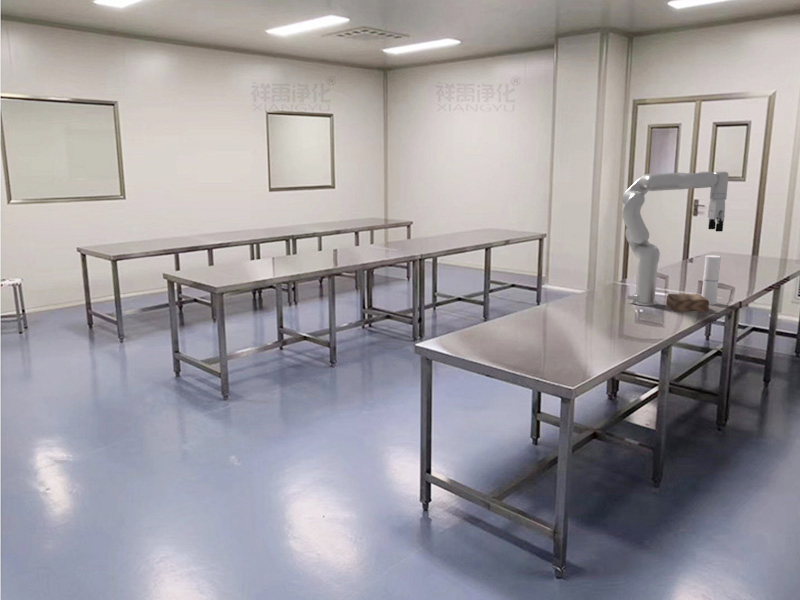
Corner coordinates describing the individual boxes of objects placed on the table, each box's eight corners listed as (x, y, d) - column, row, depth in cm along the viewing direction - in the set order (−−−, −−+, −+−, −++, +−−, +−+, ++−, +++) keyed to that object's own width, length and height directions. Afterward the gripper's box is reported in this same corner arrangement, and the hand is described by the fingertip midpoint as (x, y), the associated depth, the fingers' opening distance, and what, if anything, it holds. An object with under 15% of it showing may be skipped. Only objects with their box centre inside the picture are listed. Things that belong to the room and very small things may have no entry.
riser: (674, 311, 316) (675, 299, 315) (666, 304, 330) (667, 293, 328) (708, 311, 314) (709, 300, 313) (698, 305, 328) (699, 294, 327)
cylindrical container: (707, 305, 328) (712, 257, 322) (697, 302, 335) (702, 255, 329) (719, 304, 330) (724, 256, 324) (709, 301, 336) (713, 254, 331)
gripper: (704, 195, 329) (701, 228, 332) (717, 197, 312) (714, 232, 316) (719, 195, 328) (716, 228, 332) (733, 197, 311) (729, 232, 315)
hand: (715, 230), depth 324 cm, fingers open, 9 cm apart
